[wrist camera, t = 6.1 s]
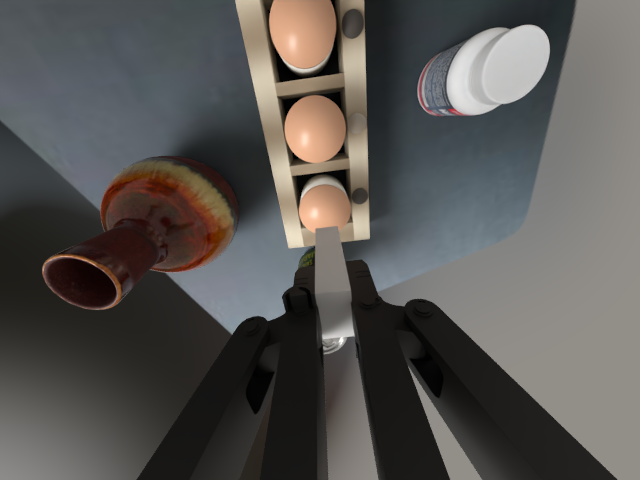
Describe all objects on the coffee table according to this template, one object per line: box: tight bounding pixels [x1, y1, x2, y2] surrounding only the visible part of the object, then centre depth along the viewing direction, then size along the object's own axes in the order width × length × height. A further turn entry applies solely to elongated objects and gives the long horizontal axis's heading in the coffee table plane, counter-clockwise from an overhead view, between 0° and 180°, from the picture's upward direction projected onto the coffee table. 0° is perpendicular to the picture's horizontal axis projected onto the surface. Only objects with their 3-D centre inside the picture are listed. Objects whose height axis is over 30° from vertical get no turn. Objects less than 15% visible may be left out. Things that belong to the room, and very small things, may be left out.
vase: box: [42, 156, 239, 310], centre depth 20 cm, size 11×11×16 cm
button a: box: [269, 0, 336, 77], centre depth 18 cm, size 5×5×4 cm
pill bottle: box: [417, 25, 550, 116], centre depth 18 cm, size 5×5×9 cm
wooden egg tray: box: [235, 0, 370, 248], centre depth 22 cm, size 23×9×4 cm, turn 7°
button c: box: [299, 174, 351, 233], centre depth 22 cm, size 5×5×4 cm
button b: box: [285, 95, 346, 163], centre depth 19 cm, size 5×5×4 cm
